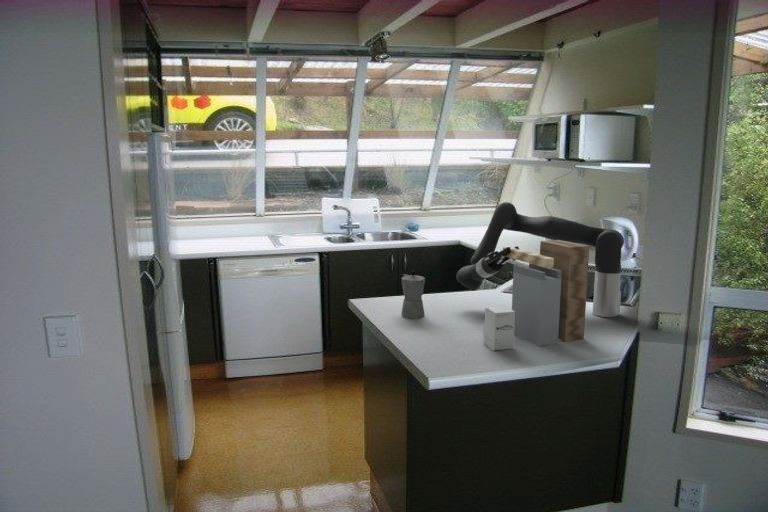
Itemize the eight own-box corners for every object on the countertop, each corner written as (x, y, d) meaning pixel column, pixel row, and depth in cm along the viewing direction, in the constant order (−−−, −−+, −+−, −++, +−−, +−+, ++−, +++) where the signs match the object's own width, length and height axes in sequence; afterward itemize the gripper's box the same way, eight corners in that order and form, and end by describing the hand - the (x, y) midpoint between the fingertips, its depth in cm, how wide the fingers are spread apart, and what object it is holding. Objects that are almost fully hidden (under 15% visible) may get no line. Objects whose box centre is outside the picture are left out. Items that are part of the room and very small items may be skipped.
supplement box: (493, 351, 176) (494, 312, 174) (483, 343, 183) (484, 307, 181) (514, 349, 178) (515, 311, 176) (503, 341, 185) (504, 305, 183)
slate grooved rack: (529, 330, 197) (532, 262, 193) (557, 342, 184) (561, 270, 180) (510, 333, 194) (513, 264, 190) (538, 346, 181) (541, 272, 176)
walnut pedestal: (554, 326, 202) (558, 239, 196) (583, 338, 188) (589, 245, 182) (536, 329, 199) (540, 241, 193) (565, 341, 185) (570, 247, 179)
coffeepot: (432, 317, 214) (433, 271, 211) (413, 321, 209) (413, 274, 206) (409, 308, 227) (409, 265, 223) (390, 312, 221) (390, 268, 218)
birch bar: (502, 255, 200) (502, 247, 199) (509, 255, 201) (509, 246, 200) (545, 268, 178) (546, 258, 178) (553, 267, 179) (553, 258, 179)
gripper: (471, 257, 209) (494, 240, 194) (502, 254, 215) (527, 238, 200) (476, 276, 207) (500, 260, 192) (507, 273, 212) (533, 257, 197)
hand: (513, 249), depth 196 cm, fingers closed on birch bar, 3 cm apart
